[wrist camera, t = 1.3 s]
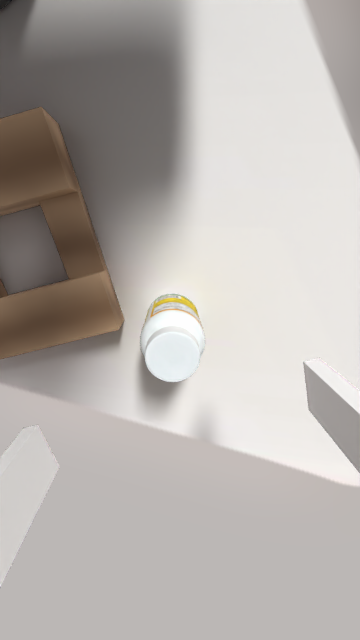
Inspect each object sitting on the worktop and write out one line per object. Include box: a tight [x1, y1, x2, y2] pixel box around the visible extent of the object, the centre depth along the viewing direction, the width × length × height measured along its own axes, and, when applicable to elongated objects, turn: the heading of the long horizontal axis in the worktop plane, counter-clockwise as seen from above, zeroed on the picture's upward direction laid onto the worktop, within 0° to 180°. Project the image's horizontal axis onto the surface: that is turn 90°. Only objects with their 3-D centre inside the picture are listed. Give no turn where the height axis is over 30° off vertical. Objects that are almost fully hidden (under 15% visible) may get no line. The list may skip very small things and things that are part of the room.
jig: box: [0, 107, 124, 359], centre depth 23 cm, size 18×14×3 cm
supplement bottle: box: [140, 293, 205, 382], centre depth 23 cm, size 5×5×10 cm
